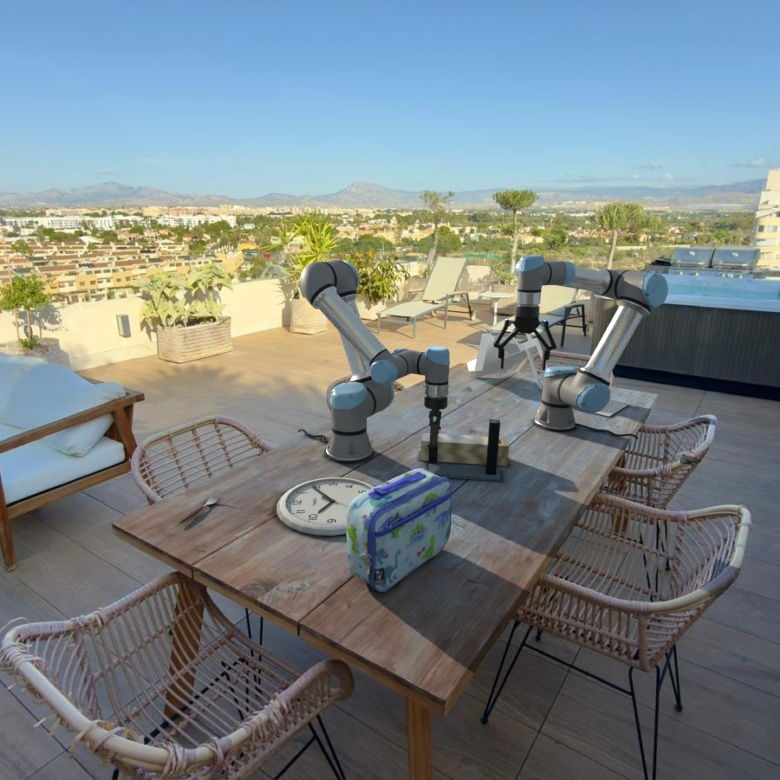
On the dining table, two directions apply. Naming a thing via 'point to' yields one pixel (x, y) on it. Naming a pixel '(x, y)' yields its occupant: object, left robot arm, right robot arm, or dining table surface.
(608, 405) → the invitation card
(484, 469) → the mat
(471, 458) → the wooden block
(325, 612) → the dining table surface
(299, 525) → the wall clock
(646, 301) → the right robot arm
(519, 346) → the white plastic object
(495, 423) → the peg
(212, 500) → the fork
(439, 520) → the lunch box
